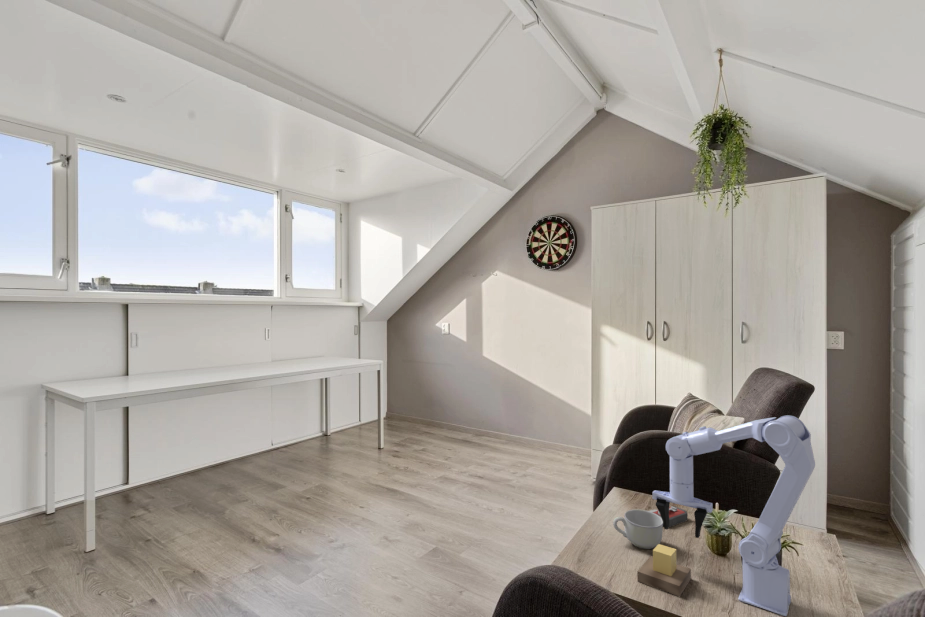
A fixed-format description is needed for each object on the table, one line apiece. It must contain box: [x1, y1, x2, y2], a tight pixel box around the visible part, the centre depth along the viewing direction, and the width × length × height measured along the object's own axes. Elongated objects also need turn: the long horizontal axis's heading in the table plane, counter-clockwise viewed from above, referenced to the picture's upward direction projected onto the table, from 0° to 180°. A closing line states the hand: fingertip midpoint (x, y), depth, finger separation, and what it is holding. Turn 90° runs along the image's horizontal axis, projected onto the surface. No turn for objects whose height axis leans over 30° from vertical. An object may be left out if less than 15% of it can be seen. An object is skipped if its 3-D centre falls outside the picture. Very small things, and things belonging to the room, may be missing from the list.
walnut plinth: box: [636, 555, 692, 597], centre depth 119 cm, size 10×10×2 cm
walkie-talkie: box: [648, 505, 689, 528], centre depth 153 cm, size 9×4×20 cm
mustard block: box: [652, 543, 677, 576], centre depth 119 cm, size 4×4×5 cm
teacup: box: [612, 508, 664, 550], centre depth 138 cm, size 14×11×8 cm
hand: (681, 532), depth 125 cm, fingers open, 7 cm apart
